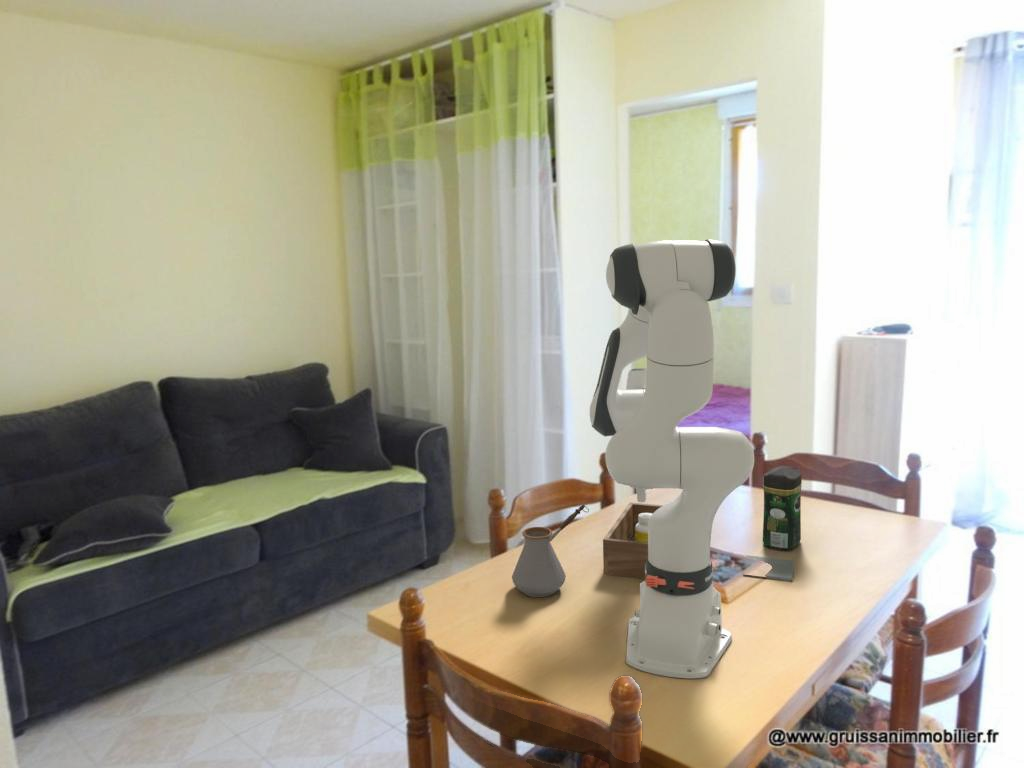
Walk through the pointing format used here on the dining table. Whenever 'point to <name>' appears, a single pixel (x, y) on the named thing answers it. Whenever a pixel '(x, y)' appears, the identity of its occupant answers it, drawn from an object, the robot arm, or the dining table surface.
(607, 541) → the crate
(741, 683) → the dining table surface
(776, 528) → the coffee jar
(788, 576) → the coaster
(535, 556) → the coffee pot
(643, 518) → the supplement bottle
